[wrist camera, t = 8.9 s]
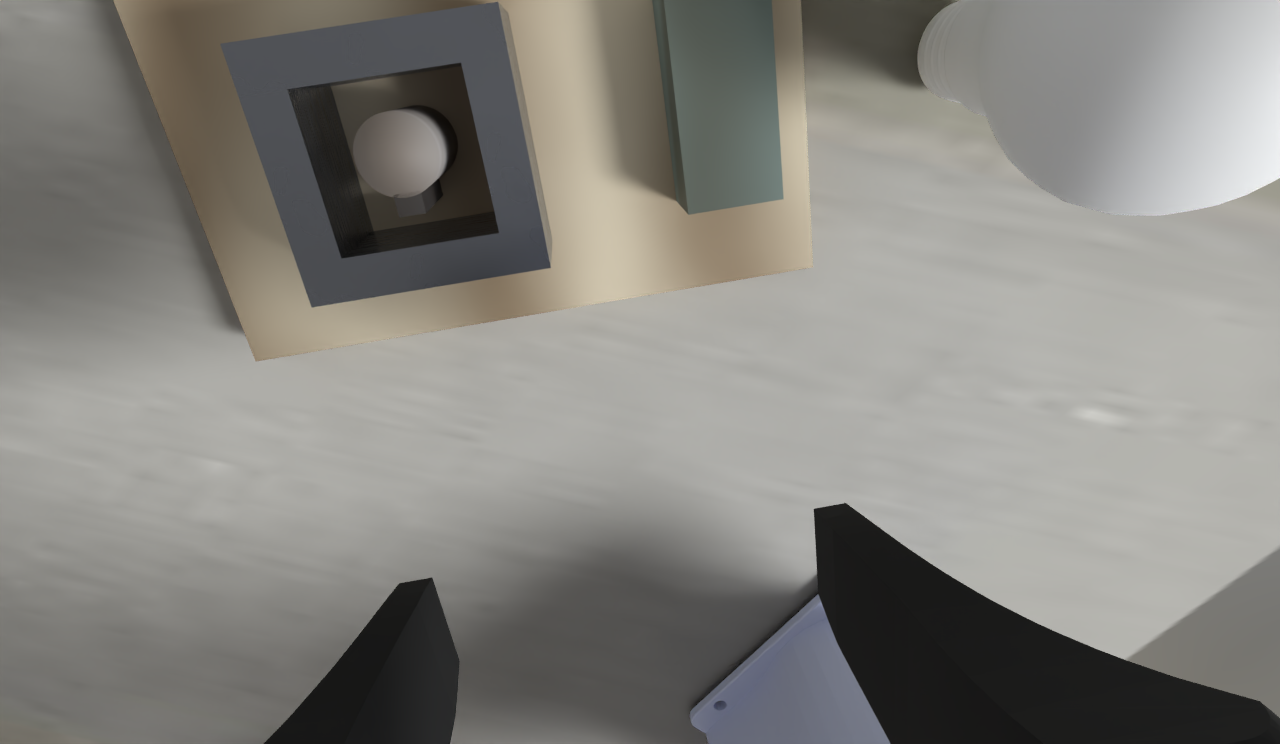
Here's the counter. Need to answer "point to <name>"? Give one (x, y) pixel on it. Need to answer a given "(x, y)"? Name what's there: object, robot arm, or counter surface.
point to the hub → (325, 173)
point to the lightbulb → (1119, 95)
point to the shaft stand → (564, 145)
